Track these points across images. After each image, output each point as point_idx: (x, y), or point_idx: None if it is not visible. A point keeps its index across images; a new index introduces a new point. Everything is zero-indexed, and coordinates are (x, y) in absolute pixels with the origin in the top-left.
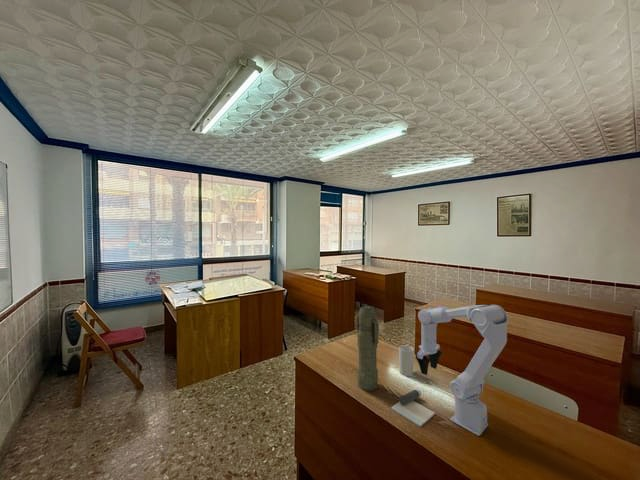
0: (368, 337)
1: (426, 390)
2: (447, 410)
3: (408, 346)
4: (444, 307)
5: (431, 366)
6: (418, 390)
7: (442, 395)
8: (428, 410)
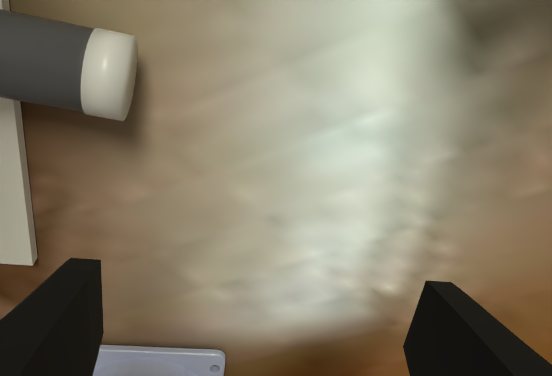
0: None
1: (324, 79)
2: (166, 297)
3: None
4: None
5: (427, 299)
6: (103, 104)
7: (341, 212)
8: (10, 225)
